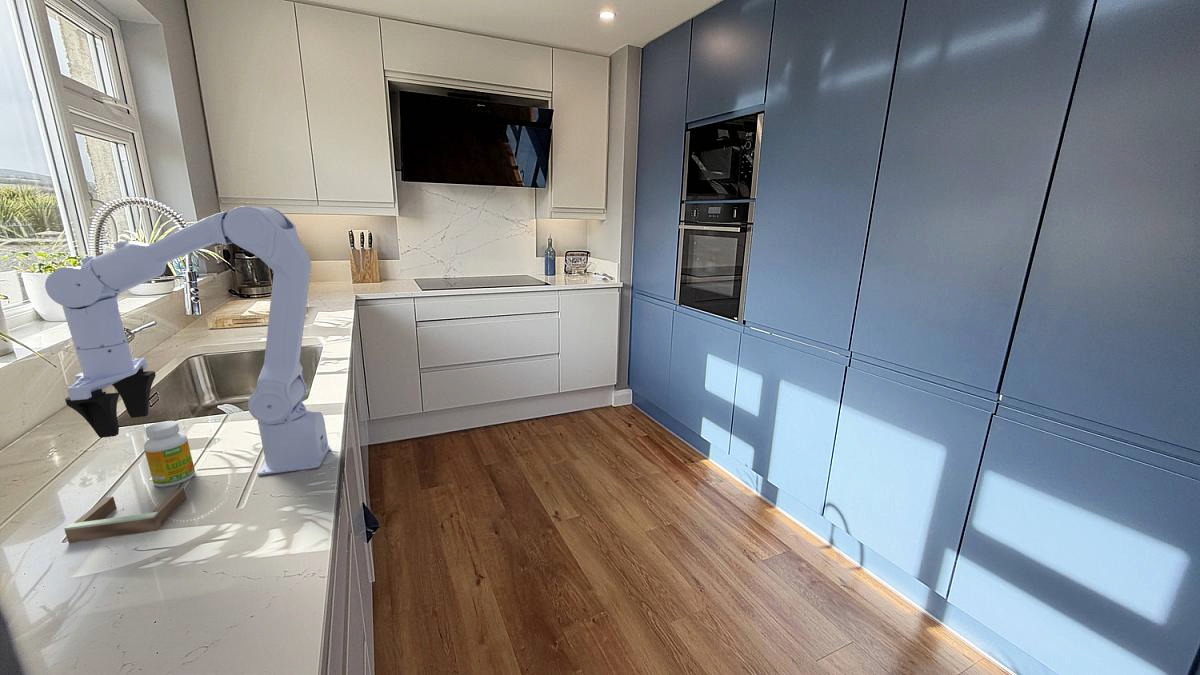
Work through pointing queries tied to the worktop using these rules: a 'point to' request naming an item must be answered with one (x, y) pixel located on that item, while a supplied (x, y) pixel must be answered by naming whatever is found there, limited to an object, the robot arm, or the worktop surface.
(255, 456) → the worktop surface
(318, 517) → the worktop surface
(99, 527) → the dock
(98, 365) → the robot arm
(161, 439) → the supplement bottle
